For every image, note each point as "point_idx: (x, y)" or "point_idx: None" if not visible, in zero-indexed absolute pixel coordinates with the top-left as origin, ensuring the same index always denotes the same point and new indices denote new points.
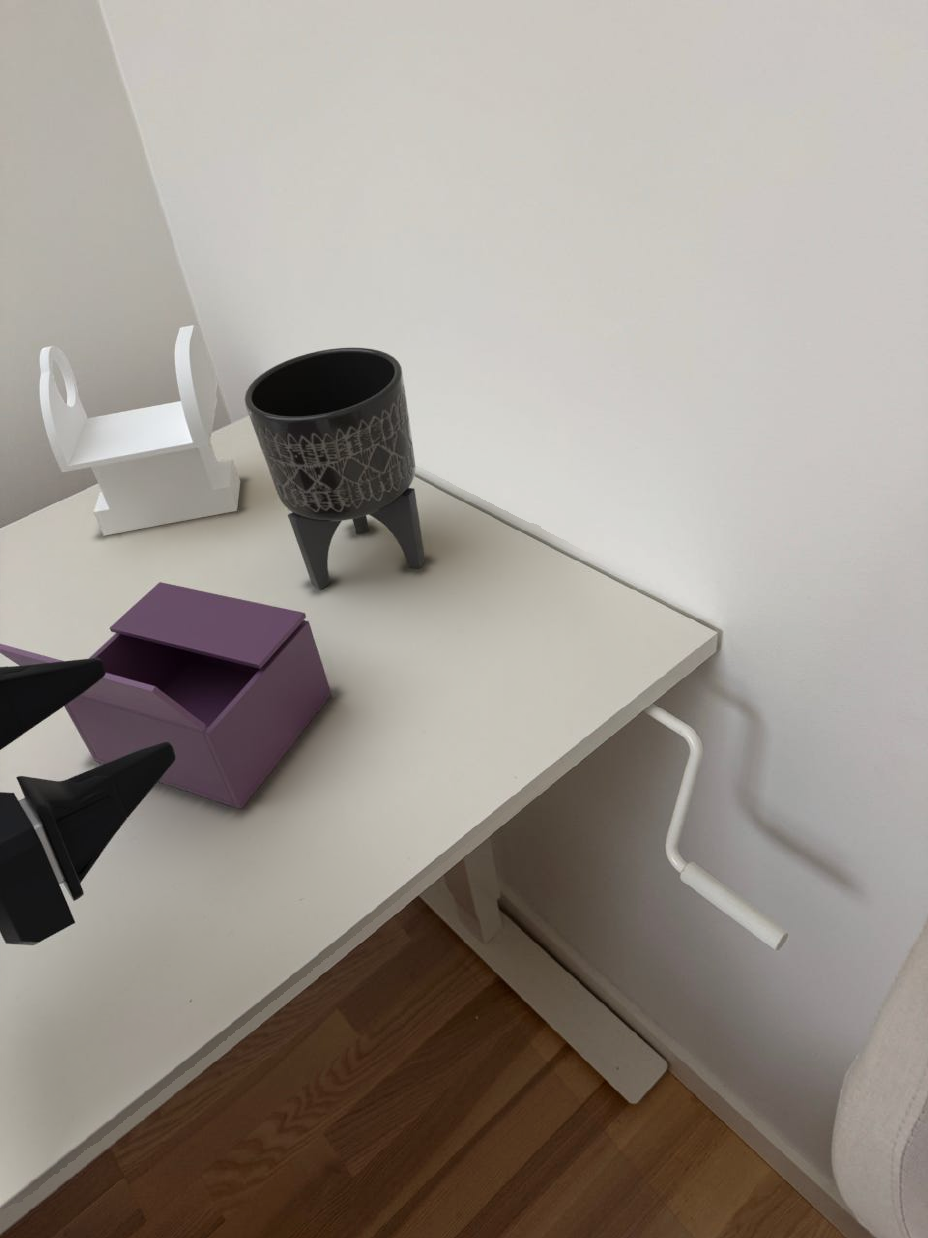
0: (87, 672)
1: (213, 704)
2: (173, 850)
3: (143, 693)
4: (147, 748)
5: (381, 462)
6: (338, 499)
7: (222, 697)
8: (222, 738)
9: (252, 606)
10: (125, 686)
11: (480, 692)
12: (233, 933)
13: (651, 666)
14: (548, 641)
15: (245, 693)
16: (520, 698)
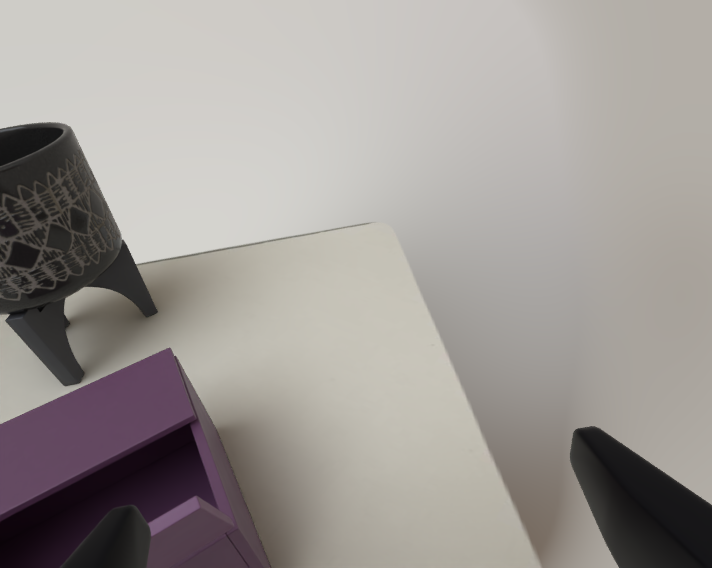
0: (123, 559)
1: None
2: None
3: (162, 538)
4: (612, 466)
5: (99, 207)
6: (75, 260)
7: None
8: (240, 523)
9: (91, 388)
10: None
11: (327, 330)
12: None
13: (392, 249)
14: (318, 279)
15: (211, 453)
16: (356, 312)
